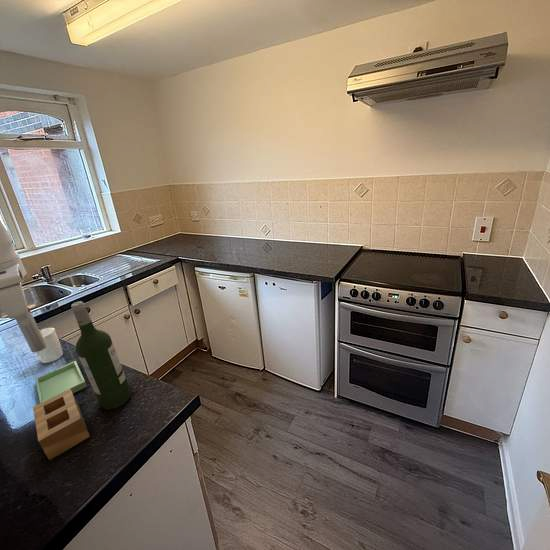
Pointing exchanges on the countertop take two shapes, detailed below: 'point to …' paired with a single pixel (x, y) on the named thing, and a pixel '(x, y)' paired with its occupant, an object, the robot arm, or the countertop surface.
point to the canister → (32, 334)
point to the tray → (60, 381)
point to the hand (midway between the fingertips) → (25, 321)
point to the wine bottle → (100, 361)
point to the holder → (59, 424)
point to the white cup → (50, 346)
